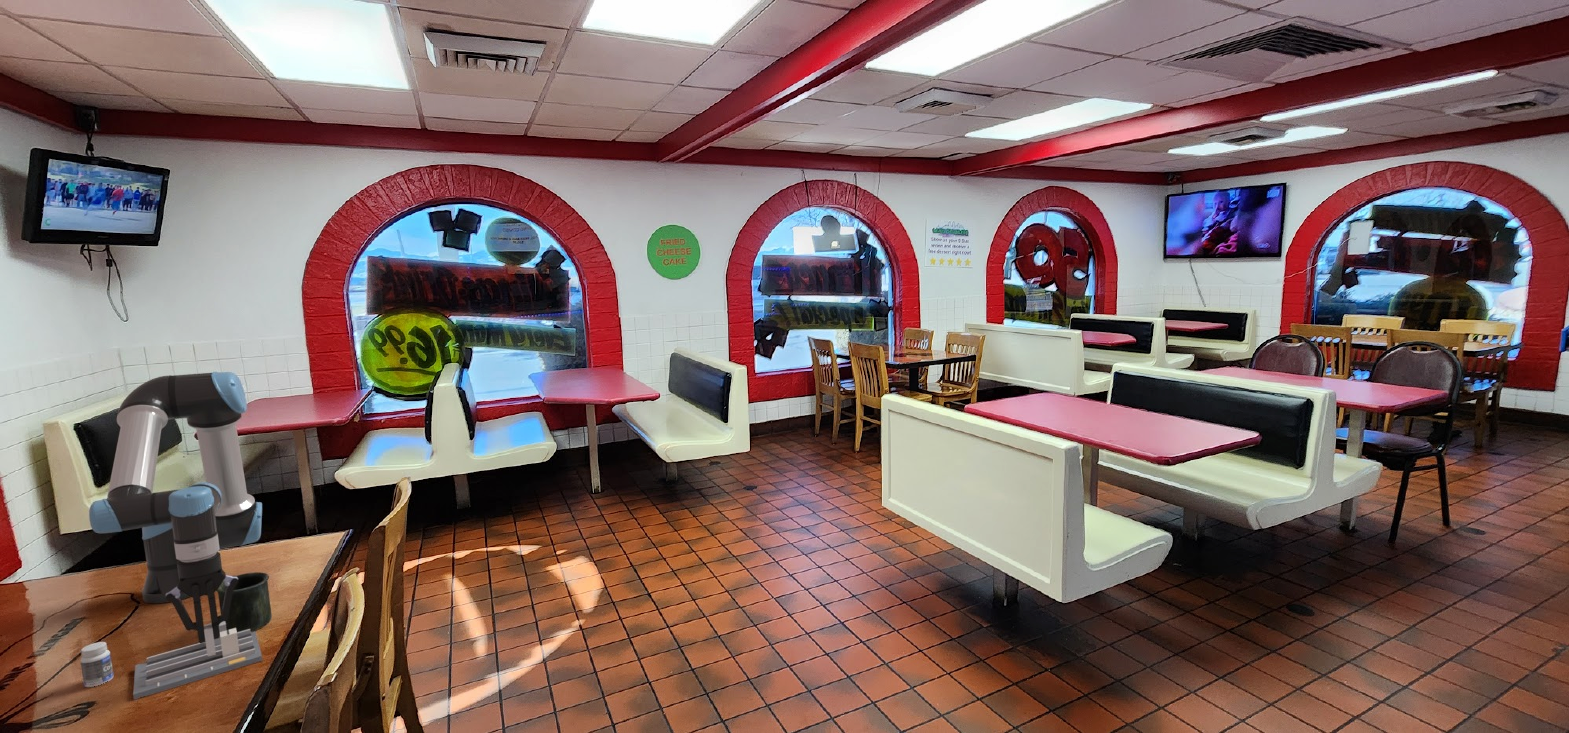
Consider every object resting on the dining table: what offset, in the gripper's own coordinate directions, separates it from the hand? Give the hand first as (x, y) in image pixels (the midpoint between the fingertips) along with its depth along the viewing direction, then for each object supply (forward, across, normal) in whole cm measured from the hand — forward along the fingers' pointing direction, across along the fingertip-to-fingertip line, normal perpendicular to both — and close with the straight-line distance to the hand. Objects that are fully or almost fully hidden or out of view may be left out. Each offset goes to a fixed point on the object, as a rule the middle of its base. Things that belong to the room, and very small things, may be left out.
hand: (211, 653), depth 159 cm
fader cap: (+2, +3, 0) cm, 4 cm away
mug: (+3, +8, +20) cm, 21 cm away
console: (+3, -2, +2) cm, 5 cm away
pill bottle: (+4, -19, +9) cm, 22 cm away
